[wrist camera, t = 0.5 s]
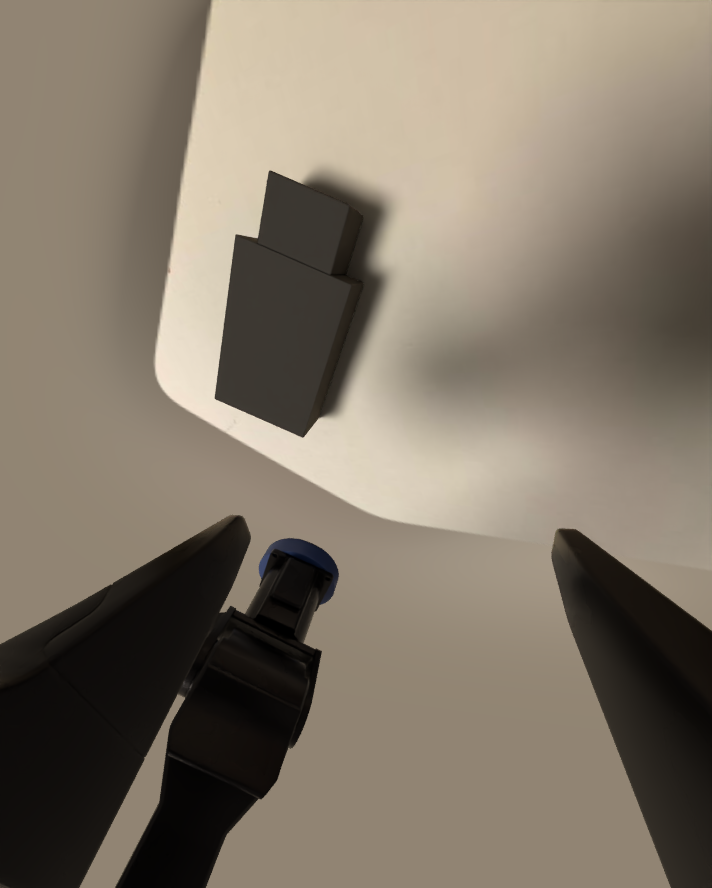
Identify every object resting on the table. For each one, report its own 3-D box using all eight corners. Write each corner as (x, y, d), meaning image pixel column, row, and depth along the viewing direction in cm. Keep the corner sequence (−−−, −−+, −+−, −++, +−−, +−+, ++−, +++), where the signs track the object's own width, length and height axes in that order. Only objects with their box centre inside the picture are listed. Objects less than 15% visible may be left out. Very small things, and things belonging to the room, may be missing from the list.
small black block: (384, 224, 16) (374, 215, 13) (318, 418, 22) (303, 438, 19) (275, 177, 16) (244, 159, 13) (240, 384, 22) (214, 399, 19)
